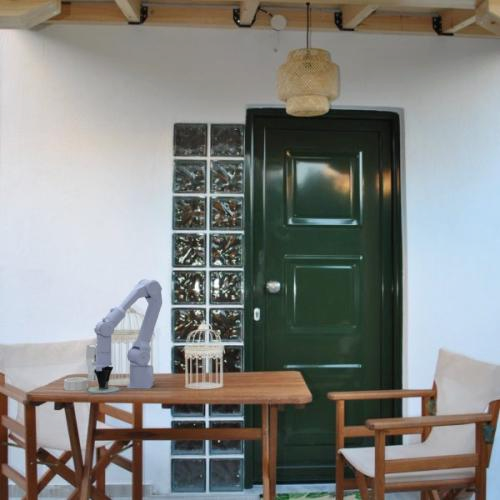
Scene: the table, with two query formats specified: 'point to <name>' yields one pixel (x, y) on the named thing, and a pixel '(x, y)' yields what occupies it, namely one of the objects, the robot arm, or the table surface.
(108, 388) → the lid
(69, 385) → the bowl
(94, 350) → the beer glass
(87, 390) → the mat
